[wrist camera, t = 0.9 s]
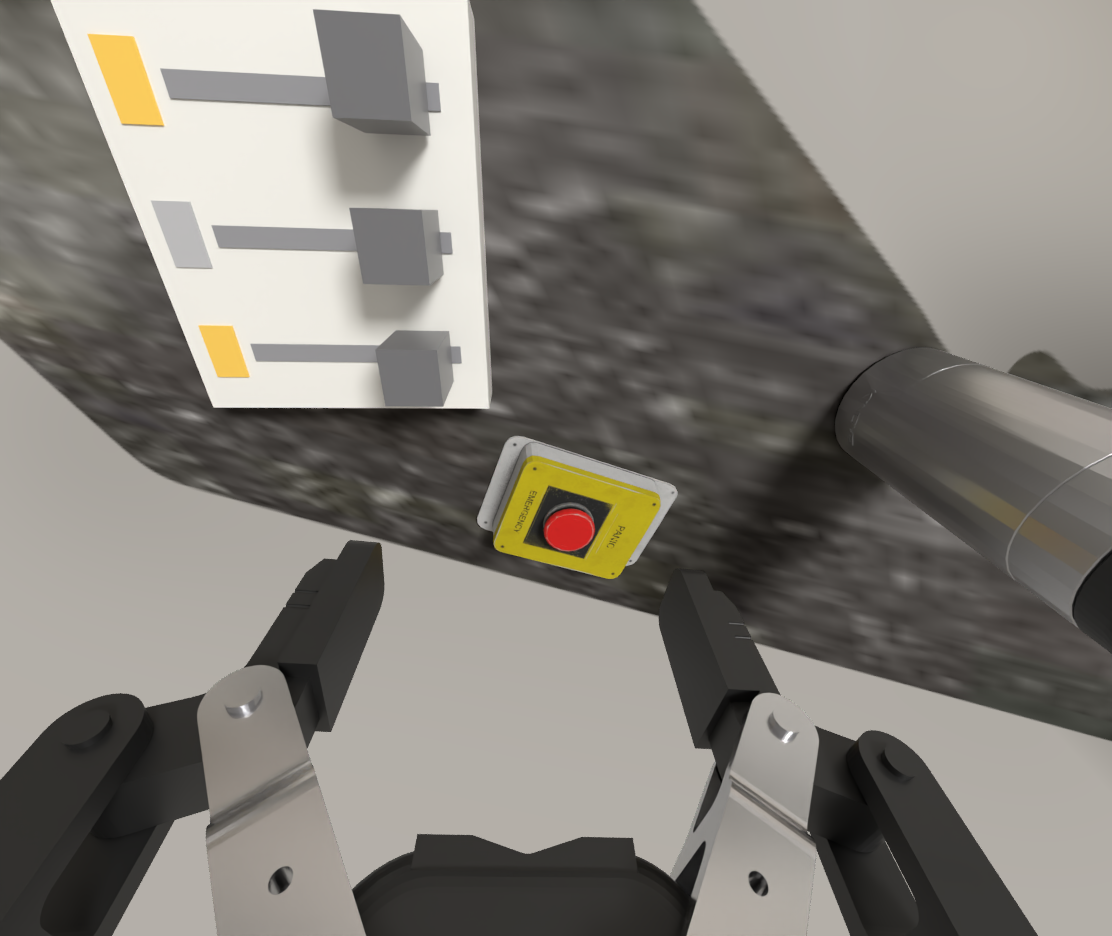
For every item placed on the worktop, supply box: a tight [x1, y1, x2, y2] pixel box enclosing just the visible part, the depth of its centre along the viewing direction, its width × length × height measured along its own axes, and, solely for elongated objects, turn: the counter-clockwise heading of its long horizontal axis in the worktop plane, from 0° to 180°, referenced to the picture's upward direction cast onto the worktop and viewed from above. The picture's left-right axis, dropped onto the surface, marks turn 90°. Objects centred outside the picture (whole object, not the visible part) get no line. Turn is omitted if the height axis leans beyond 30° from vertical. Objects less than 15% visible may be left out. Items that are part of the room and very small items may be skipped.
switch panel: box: [51, 0, 492, 409], centre depth 24 cm, size 17×19×3 cm
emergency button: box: [477, 436, 678, 579], centre depth 35 cm, size 9×4×15 cm
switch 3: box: [375, 330, 454, 407], centre depth 24 cm, size 3×3×4 cm
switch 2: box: [349, 208, 444, 286], centre depth 21 cm, size 3×3×4 cm
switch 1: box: [313, 9, 431, 136], centre depth 18 cm, size 3×3×4 cm
